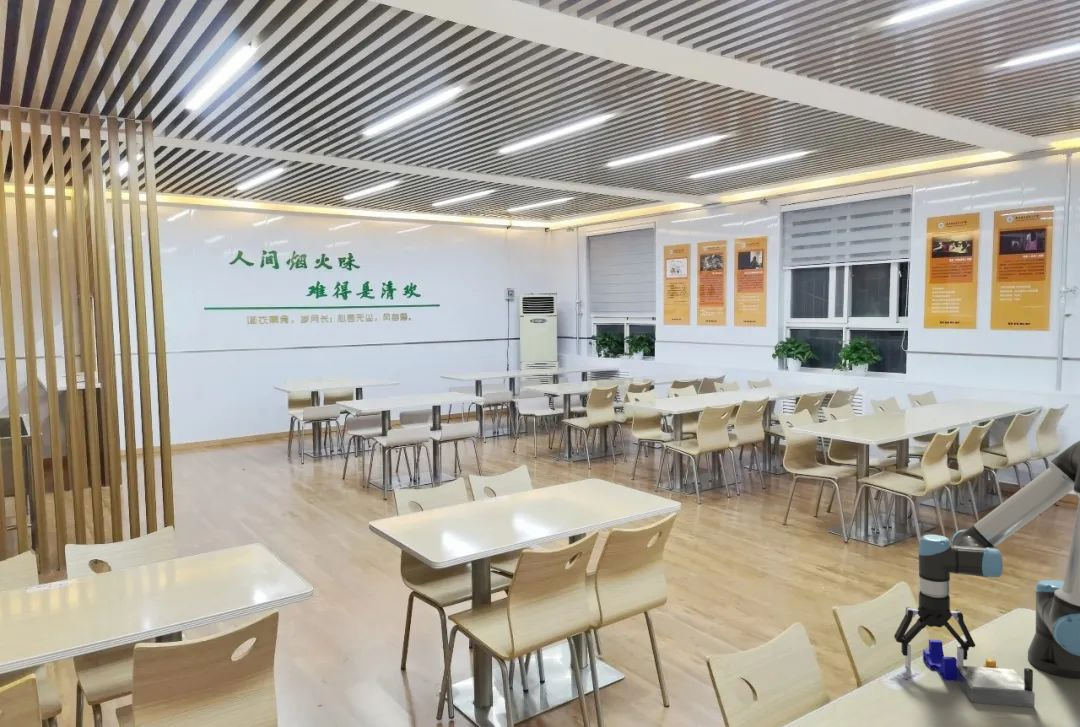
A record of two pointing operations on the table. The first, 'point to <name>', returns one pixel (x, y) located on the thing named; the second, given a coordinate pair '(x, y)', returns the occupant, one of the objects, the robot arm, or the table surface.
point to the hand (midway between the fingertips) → (933, 668)
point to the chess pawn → (990, 663)
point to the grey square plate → (997, 686)
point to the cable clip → (940, 660)
